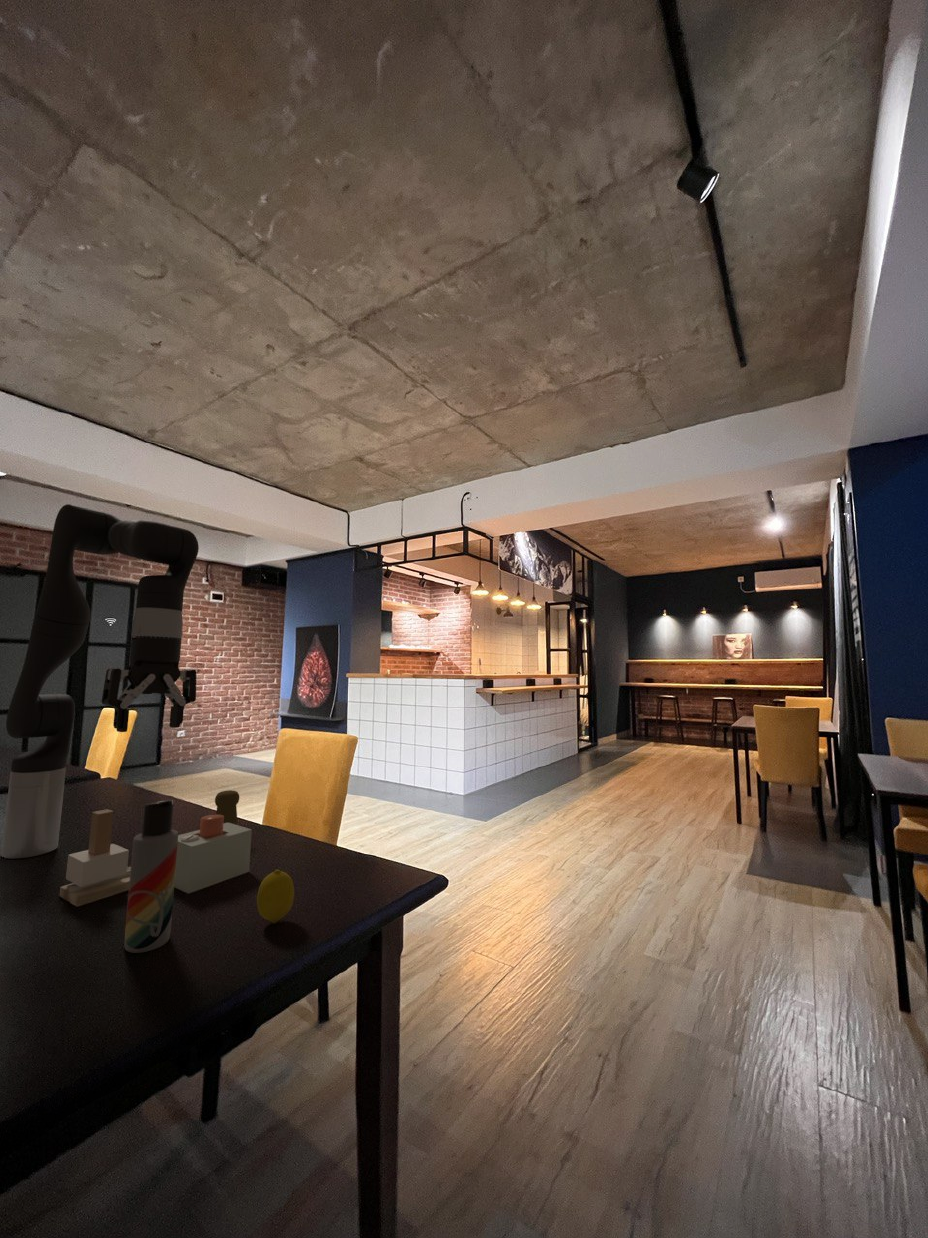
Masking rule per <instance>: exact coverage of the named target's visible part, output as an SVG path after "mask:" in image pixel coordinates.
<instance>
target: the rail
mask: <svg viewBox="0 0 928 1238" xmlns="http://www.w3.org/2000/svg"><path fill="white" fill-rule="evenodd" d="M130 872H131V866H127V874H124V875H120V876H117V877H114V878H110V879H107V880H104V881H100V882H97V883H93V884H90V885H87V886H83V887H80V886H78V885H76V884H74V883H72V882H71V883H70V884H65V885H62V886H60V887H59V888H60V889H59V895H58V896H59V897H61V898H62V899H63V900H65V901H67V902H69V904H72V905H73V906H75V907H81V906H84V905H87V904H90V903H94V902H96V901H100V900H101V899H102V900H103V899H105V898H109V897H112V896H115V895H118V894H122V893H124V892H127V891H129V883H130Z"/></svg>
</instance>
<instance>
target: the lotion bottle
mask: <svg viewBox="0 0 928 1238" xmlns="http://www.w3.org/2000/svg"><path fill="white" fill-rule="evenodd" d="M174 804H175V802H174V800H172V799H164V800H161V801H157V802H151V803H146V804H144V805H143V812H142V820H141V821H142V822H141V832H140V833H138V834H137V835H135V836H134V837H133V841H132V842H133V843H132V849H131V861H130V867H131V872H130V883H129V890H128V896H127V907H126V917H125V918H126V920H125V930H124V931H125V933H124V942H123V943H124V949H125V951H126V952H128V953H132V954H133V953H134V954H141V953H146V952H147V953H148V952H149V951H150V952H151V951H154V950H156V949H158V948H160V947H162V946H164V945H165V944H167V942H168V941H169V940H170V937H171V931H172V919H173V918H172V917H173V905H174V895H175V894H174V893H175V887H174V883H175V871H176V858H177V845H178V835H179V832H178V831H177V830H176V829H173V821H174V819H173V818H174V806H175V805H174Z"/></svg>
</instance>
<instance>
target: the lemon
mask: <svg viewBox="0 0 928 1238" xmlns="http://www.w3.org/2000/svg"><path fill="white" fill-rule="evenodd" d="M294 899H295V887H294V882H293V879H292V878H291V876H290V875H289V874H288V873H287V872H284V871H281V870H280V869H275V870H274V871H273V872H271V873H268V874H267V875H266V876H265V877H264V878H263V879H262V881H261V883H260V884H259V888H258V892H257V895H256V907H257V911H258V913H259V915H260V917H262V918H263V919H264V920H266V921H269V922H271V923H272V924H276V923H278V922H279V920H281V919H283V918H284V917H285V916H286V915H287V914H288V913H289V912H290V910H291V909H292V906H293V905H294Z"/></svg>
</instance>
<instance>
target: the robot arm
mask: <svg viewBox="0 0 928 1238" xmlns="http://www.w3.org/2000/svg"><path fill="white" fill-rule="evenodd" d="M199 549H200V547H199V542H198V539H197V536H196V535H195V534H194V533H193V532H192V531H190V530H189V529H185V528H182V527H178V526H173V525H170V524H165V523H161V522H158V521H154V520H149V519H140V520H132V519H124V520H123V519H121V518H119V517H118V516H116V515H113V514H111V513H109V512H105V511H101V510H97V509H93V508H89V507H84V506H80V505H76V504H72V503H68V504H67V503H66V504H64V505H62V507H61V508H60V509H59V510H58V511H57V514H56V517H55V521H54V525H53V531H52V536H51V542H50V549H49V555H48V556H49V557H48V560H47V561H48V562H47V566H46V572H45V578H44V582H43V586H42V589H41V593H40V597H39V600H38V603H37V608H36V610H35V614H34V617H33V621H32V624H31V629H30V636H29V640H28V644H27V648H26V649H27V650H26V654H25V658H24V661H23V665H22V669H21V672H20V675H19V678H18V680H17V684H16V686H15V689H14V692H13V694H12V698H11V701H10V704H9V707H8V710H7V715H6V719H5V720H6V721H5V725H6V726H5V727H6V732H7V734H8V735H9V736H10V737H11V738H13V739H30V738H31V739H33V738H43V737H44V738H46V739H45V740H44V741H43V743H41V744H40V745H38V746H37V747H35V748H33V749H31V750H29V751H25V752H22V753H21V754H17V755H16V756H15V757H13V758H12V760H11V765H10V774H9V782H8V793H7V803H6V808H5V816H4V817H5V818H4V826H3V835H2V844H1V851H0V857H1V856H2V858H3V857H4V859H25V858H31V857H36V856H41V855H44V854H47V853H50V852H52V851H54V850H56V849H57V848H58V846H59V838H60V830H61V820H62V809H63V800H64V791H65V782H66V781H65V779H66V772H67V771H66V770H67V760H68V757H69V754H70V749H71V748H70V747H71V740H72V739H71V738H72V733H73V727H74V723H75V715H76V704H75V701H74V698H73V696H71V695H70V694H65V693H49V694H48V693H47V694H45V693H43V694H41V691H42V689H43V686H44V685H45V683H46V682H47V680H48V679H49V677H50V676H51V675H52V674H53V673H54V672H55V671H56V670H57V669H58V668H59V667H61V666H62V665H63V664H64V663H65V662H66V661H67V660H69V658H71V657H72V656H73V655H74V654H75V653H76V652H77V651H78V650H79V649H80V647H82V646H83V644H84V641H85V640H86V637H87V636H86V635H87V632H88V628H89V625H90V621H91V618H92V617H91V616H92V615H91V614H92V613H91V608H90V605H89V602H88V601H87V598H86V596H85V595H84V593H83V590H82V589H81V586H80V585H79V582H78V580H77V578H76V575H75V572H74V554H75V552H76V551H79V552H84V553H90V554H94V555H113V554H121V555H124V556H126V557H131V558H135V559H138V560H142V561H145V562H146V561H147V562H151V563H158V564H163V565H168V568H167V570H166V572H165V573H164V574H153V575H145V576H143V577H141V578H140V579H139V581H138V586H137V594H136V606H135V607H136V608H135V612H134V615H133V616H134V617H133V620H132V626H131V627H132V630H131V638H130V639H131V640H130V649H129V664H128V665H129V666H128V668H127V669H120V668H119V667H117V668H116V667H109V668H107V670H106V672H105V673H106V674H105V678H104V684H103V691H102V696H101V700H100V701H101V702H100V703H101V704H102V705H104V706H105V705H106V706H109V707H112V708H113V709H114V713H113V715H114V716H113V722H112V725H113V728H114V729H115V730H116V732H118V733H127V732H128V728H129V719H130V717H129V715H130V709H128V707H129V706H130V705H131V704H132V703H133V701H134V700H135V699H137V698H139V697H140V696H141V695H152V694H158V695H159V694H160V695H164V696H165V697H167V698H168V700H169V701H170V702H171V704H172V705H171V706H170V715H169V727H170V728H173V729H174V728H175V729H177V728H180V726H181V725H182V723H183V722H184V714H185V713H184V712H185V706H186V705H187V704H190V703H194V702H196V700H197V670H196V669H192V668H191V669H189V668H188V669H184V670H180V668H179V666H180V665H179V664H180V661H181V652H182V640H183V639H182V638H183V637H182V636H183V624H184V623H183V609H184V608H183V606H184V593H185V589H186V585H187V582H188V580H189V577H190V574H191V572H192V570H193V567H194V565H195V562H196V560H197V558H198V554H199ZM125 678H126V679H127V680H128V682H129V684H128V685H127V686H126V687H125V688H124V689H123V691H122V692H121V695H120V696H119V697H118V695H119V689H120V684H121V682H123V681H124V679H125ZM179 678H180V681H182V693H181V690H180V689H179V687H178V686H177V684H176V682H177V681H178V679H179Z"/></svg>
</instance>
